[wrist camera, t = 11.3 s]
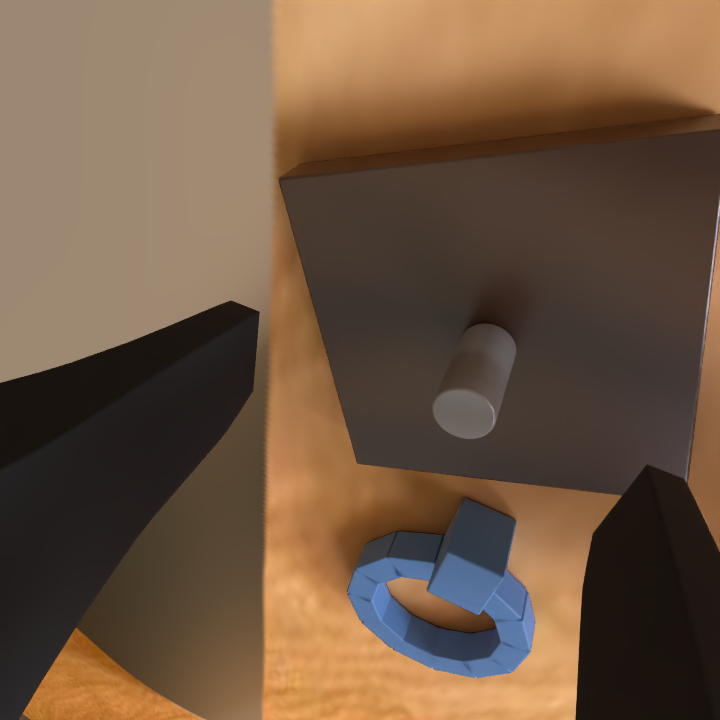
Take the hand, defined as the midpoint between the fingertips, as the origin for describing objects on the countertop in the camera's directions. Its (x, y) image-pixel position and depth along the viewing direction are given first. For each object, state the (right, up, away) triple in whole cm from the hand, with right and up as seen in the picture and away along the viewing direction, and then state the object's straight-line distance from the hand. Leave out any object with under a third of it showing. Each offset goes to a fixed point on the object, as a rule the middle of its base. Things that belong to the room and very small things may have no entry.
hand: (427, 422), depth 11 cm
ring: (+3, -10, +18) cm, 21 cm away
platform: (+3, +2, +9) cm, 10 cm away
